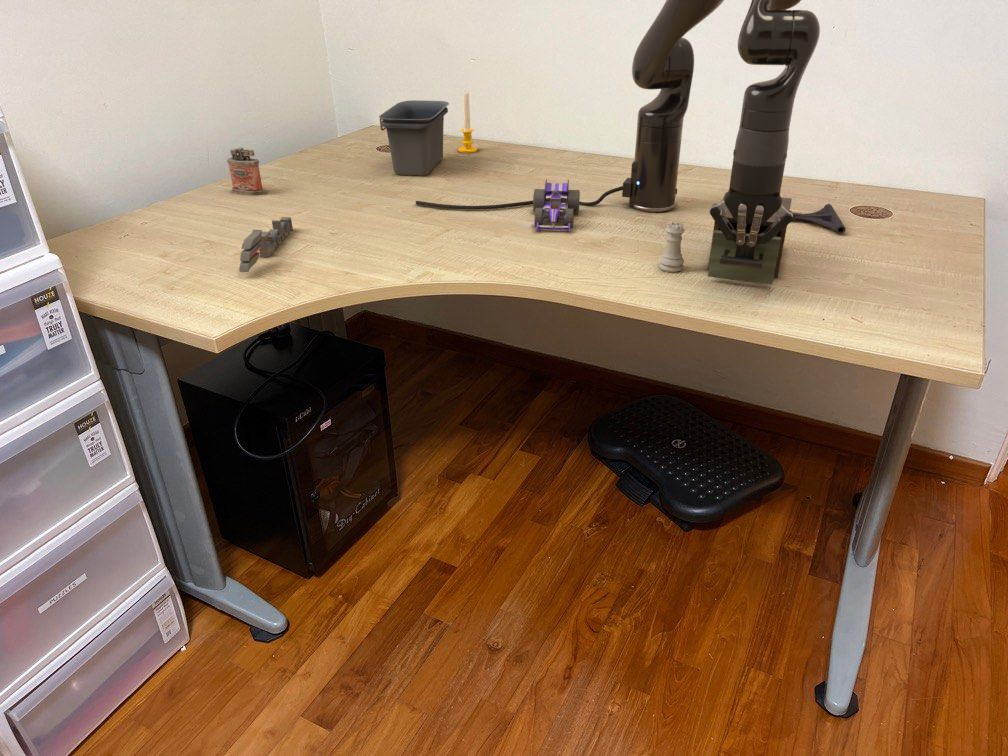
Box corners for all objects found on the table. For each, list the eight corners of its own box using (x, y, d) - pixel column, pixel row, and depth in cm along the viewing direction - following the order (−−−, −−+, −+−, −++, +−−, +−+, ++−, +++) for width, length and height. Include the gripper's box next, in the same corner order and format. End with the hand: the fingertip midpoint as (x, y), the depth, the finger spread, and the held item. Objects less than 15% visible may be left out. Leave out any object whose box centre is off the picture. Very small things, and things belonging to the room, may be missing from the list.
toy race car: (528, 232, 151) (529, 199, 147) (534, 208, 164) (534, 178, 160) (577, 233, 150) (578, 200, 147) (579, 209, 163) (580, 179, 159)
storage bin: (434, 179, 183) (430, 118, 176) (372, 177, 186) (366, 116, 179) (454, 157, 201) (452, 101, 194) (398, 155, 204) (393, 99, 197)
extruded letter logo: (249, 278, 132) (243, 247, 129) (240, 278, 132) (234, 247, 129) (293, 229, 153) (288, 202, 150) (285, 229, 153) (280, 202, 150)
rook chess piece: (655, 264, 136) (659, 220, 132) (679, 263, 136) (684, 219, 132) (661, 273, 132) (666, 229, 128) (687, 272, 132) (692, 228, 128)
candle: (456, 152, 206) (454, 92, 198) (460, 148, 210) (458, 88, 203) (475, 153, 205) (473, 92, 197) (479, 148, 210) (477, 88, 202)
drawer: (770, 296, 121) (778, 250, 117) (703, 287, 124) (709, 242, 120) (777, 256, 136) (785, 214, 132) (718, 249, 139) (723, 207, 135)
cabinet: (777, 278, 130) (787, 223, 125) (708, 269, 133) (715, 216, 128) (782, 249, 141) (791, 198, 137) (718, 241, 145) (725, 192, 140)
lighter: (229, 192, 176) (221, 148, 171) (239, 188, 179) (231, 145, 174) (258, 195, 174) (250, 151, 168) (267, 191, 176) (259, 148, 171)
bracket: (757, 208, 162) (759, 195, 161) (831, 211, 160) (833, 198, 158) (764, 231, 150) (767, 217, 149) (844, 235, 148) (847, 221, 146)
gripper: (807, 154, 115) (787, 262, 124) (717, 148, 119) (704, 253, 128) (805, 167, 109) (784, 280, 118) (711, 160, 113) (697, 269, 122)
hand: (742, 265), depth 123 cm, fingers closed
